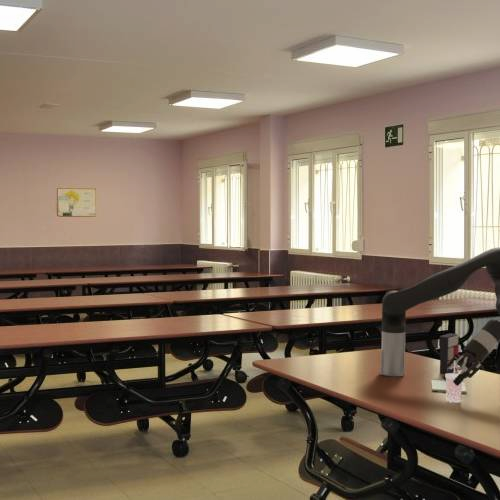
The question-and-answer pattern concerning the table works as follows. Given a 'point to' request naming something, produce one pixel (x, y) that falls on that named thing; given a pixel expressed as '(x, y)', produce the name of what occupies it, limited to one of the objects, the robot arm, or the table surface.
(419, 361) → the table surface
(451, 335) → the grey and red box
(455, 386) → the beverage cup
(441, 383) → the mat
